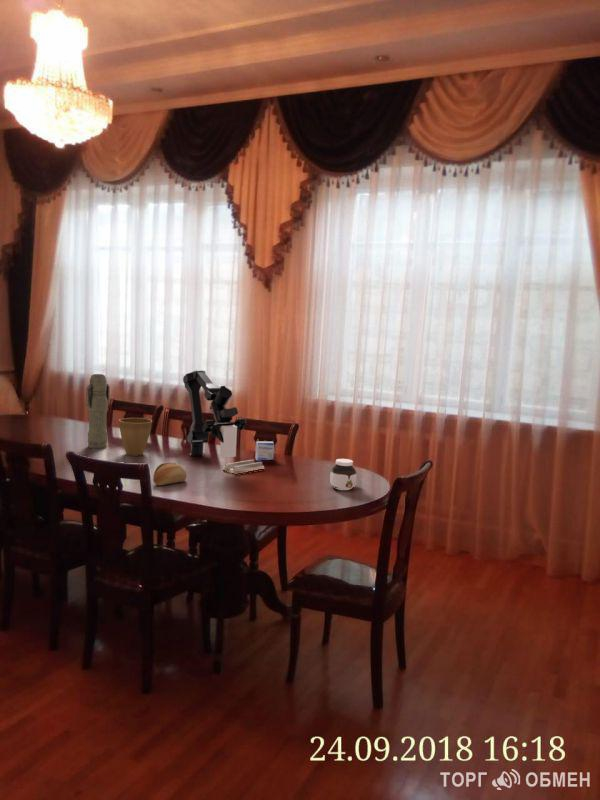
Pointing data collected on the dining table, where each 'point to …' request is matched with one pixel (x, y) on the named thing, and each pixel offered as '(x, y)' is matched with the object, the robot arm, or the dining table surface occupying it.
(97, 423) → the stone statue
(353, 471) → the spread jar
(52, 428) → the dining table surface
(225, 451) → the door panel
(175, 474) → the bread roll
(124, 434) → the plant pot
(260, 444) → the medicine box
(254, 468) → the track base
